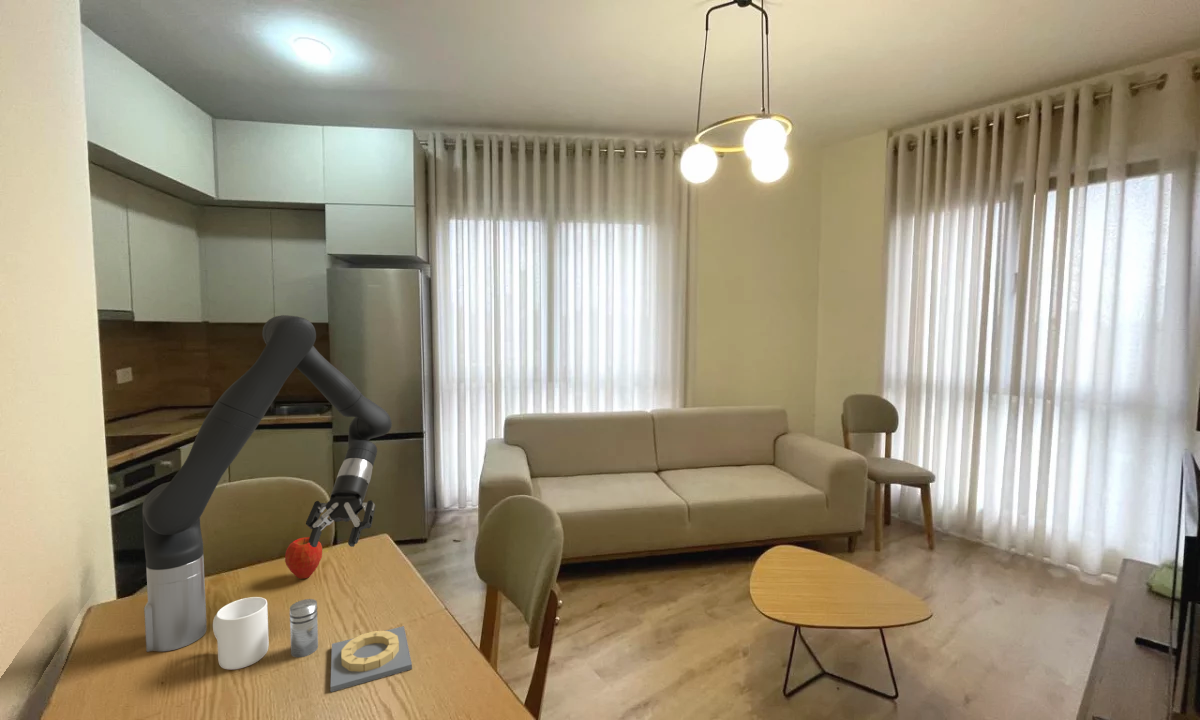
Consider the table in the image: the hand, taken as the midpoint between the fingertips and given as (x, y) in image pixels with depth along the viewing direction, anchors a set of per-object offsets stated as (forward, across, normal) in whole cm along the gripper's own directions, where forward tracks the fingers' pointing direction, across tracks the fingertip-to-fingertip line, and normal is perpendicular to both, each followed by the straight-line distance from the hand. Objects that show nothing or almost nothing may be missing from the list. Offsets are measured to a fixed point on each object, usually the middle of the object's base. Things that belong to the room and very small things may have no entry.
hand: (332, 545), depth 114 cm
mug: (+21, -13, +2) cm, 25 cm away
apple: (-1, -16, +24) cm, 30 cm away
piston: (+20, 0, +3) cm, 21 cm away
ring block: (+23, +14, +1) cm, 27 cm away
